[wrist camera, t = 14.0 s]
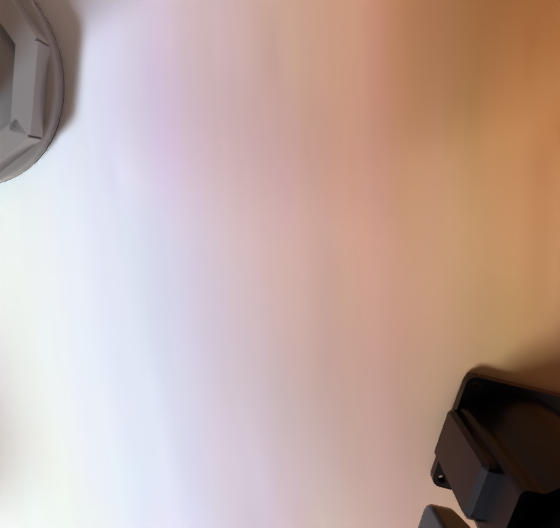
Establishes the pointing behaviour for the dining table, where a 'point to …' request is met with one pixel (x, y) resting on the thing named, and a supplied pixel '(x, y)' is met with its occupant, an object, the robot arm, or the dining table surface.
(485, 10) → the dining table surface
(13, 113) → the slate saucer
